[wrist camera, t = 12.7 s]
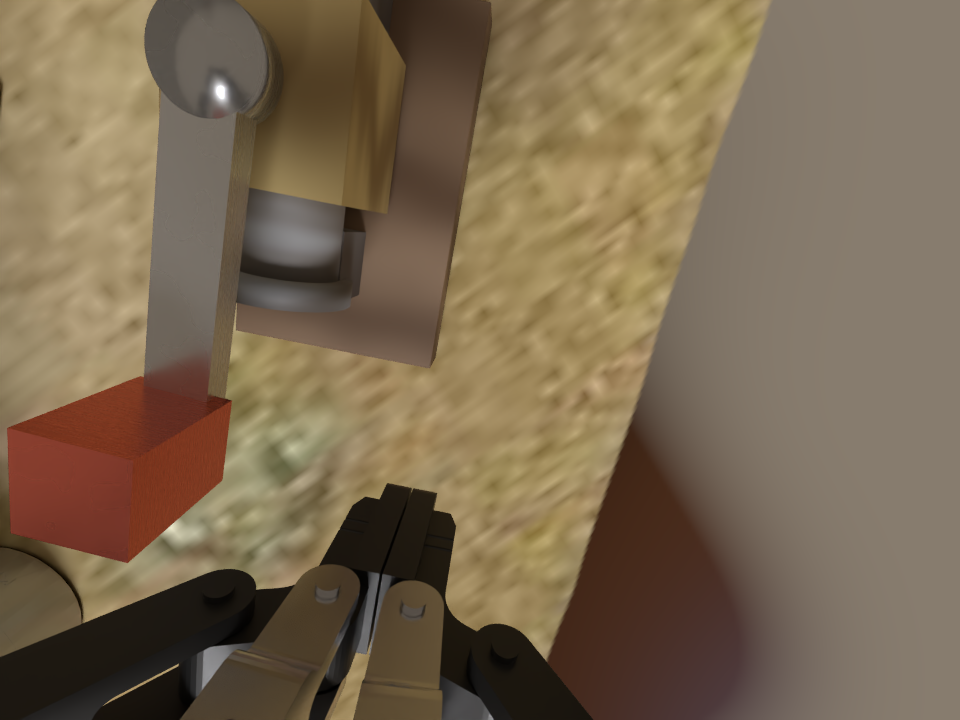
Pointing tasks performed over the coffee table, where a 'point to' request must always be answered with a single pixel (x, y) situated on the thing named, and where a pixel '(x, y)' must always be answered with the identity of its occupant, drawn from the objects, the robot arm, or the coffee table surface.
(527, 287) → the coffee table surface
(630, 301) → the coffee table surface
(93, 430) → the valve lever
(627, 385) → the coffee table surface
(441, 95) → the valve pipe
